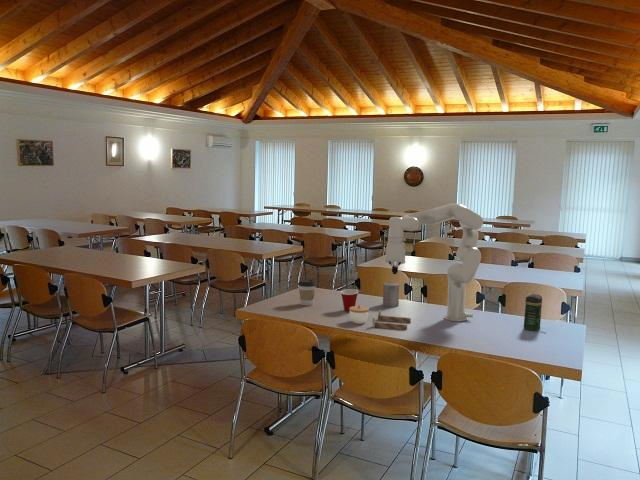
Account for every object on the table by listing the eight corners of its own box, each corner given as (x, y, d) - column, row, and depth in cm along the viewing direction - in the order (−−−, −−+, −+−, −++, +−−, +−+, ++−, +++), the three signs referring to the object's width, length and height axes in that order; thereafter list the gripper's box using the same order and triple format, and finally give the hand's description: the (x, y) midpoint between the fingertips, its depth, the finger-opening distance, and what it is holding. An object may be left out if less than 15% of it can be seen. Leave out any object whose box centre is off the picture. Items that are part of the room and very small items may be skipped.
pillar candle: (387, 302, 350) (388, 279, 348) (401, 305, 344) (402, 281, 342) (379, 305, 342) (380, 281, 340) (393, 308, 336) (394, 283, 334)
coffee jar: (537, 332, 289) (540, 297, 287) (522, 329, 294) (524, 295, 291) (541, 328, 297) (544, 294, 295) (526, 325, 302) (528, 292, 299)
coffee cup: (316, 307, 336) (316, 282, 334) (297, 306, 336) (297, 282, 334) (316, 302, 347) (316, 279, 345) (298, 302, 347) (298, 278, 346)
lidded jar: (372, 322, 304) (373, 305, 303) (361, 326, 296) (361, 308, 295) (356, 318, 311) (357, 302, 310) (345, 322, 303) (345, 305, 302)
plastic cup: (336, 310, 328) (336, 290, 326) (347, 307, 336) (348, 288, 334) (350, 314, 320) (350, 293, 319) (361, 310, 328) (362, 290, 327)
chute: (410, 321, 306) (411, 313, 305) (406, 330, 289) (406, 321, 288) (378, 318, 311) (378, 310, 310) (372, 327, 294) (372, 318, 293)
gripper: (410, 240, 299) (409, 273, 302) (383, 238, 304) (382, 271, 306) (408, 241, 292) (407, 276, 295) (380, 240, 297) (379, 274, 299)
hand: (394, 273), depth 300 cm, fingers closed
